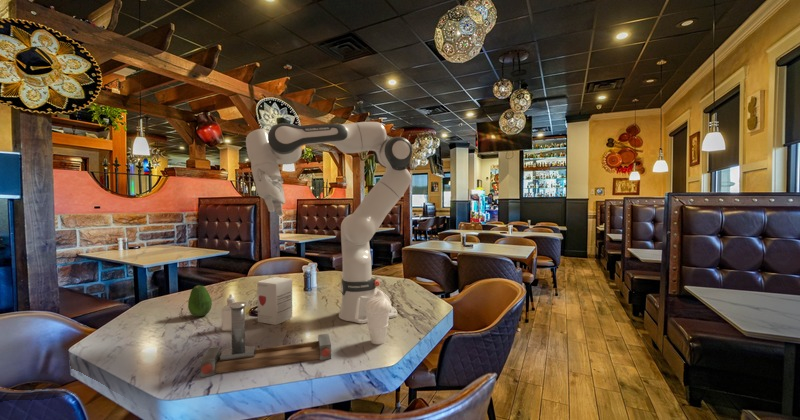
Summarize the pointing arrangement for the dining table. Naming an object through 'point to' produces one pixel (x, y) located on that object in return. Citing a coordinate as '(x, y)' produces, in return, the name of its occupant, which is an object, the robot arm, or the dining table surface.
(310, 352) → the rail
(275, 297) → the supplement box
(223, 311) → the eye dropper bottle
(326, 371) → the dining table surface
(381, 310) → the soft serve ice cream cone
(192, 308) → the avocado
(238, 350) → the carriage
